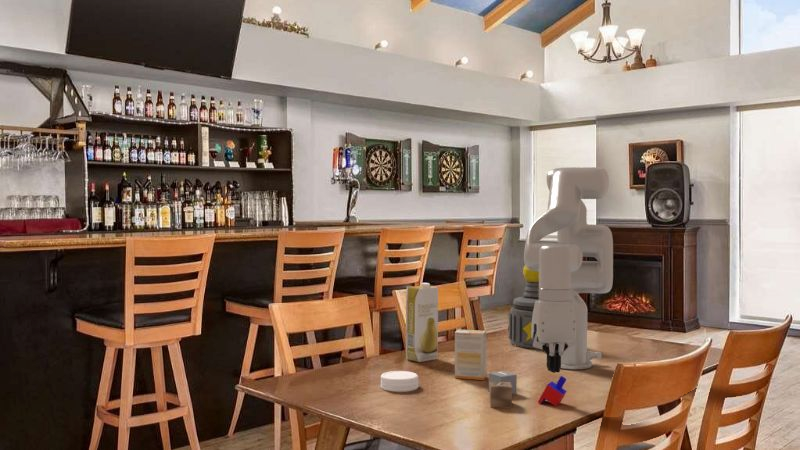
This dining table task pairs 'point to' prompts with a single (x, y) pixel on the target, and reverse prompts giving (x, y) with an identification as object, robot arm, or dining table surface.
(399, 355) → the dining table surface
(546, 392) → the toy building block
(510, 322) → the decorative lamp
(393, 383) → the white short cylinder
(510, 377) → the numeral one cube
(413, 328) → the juice carton
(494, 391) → the numeral seven cube
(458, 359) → the supplement box
